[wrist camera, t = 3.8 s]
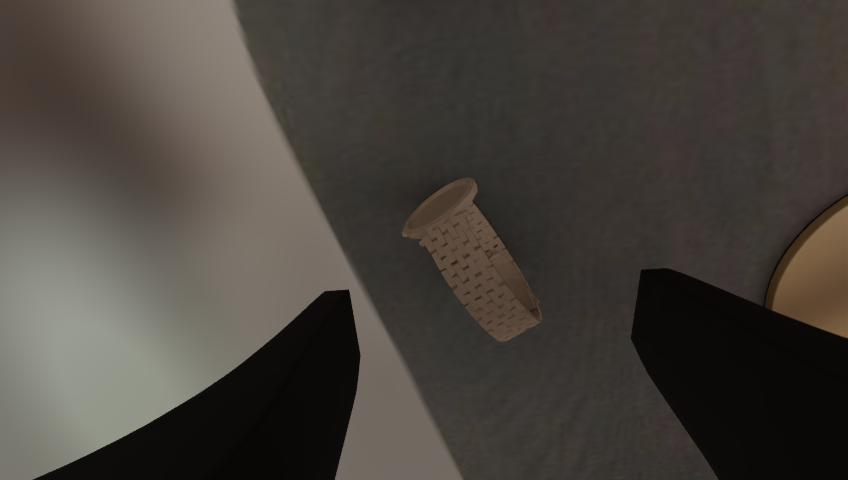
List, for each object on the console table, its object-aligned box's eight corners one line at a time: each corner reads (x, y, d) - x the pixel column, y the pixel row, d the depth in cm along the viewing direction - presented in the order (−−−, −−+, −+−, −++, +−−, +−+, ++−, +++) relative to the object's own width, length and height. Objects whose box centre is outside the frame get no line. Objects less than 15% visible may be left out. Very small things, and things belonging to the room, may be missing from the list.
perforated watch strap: (465, 157, 14) (484, 209, 10) (537, 259, 16) (583, 344, 11) (402, 202, 15) (393, 269, 10) (477, 296, 17) (498, 390, 12)
